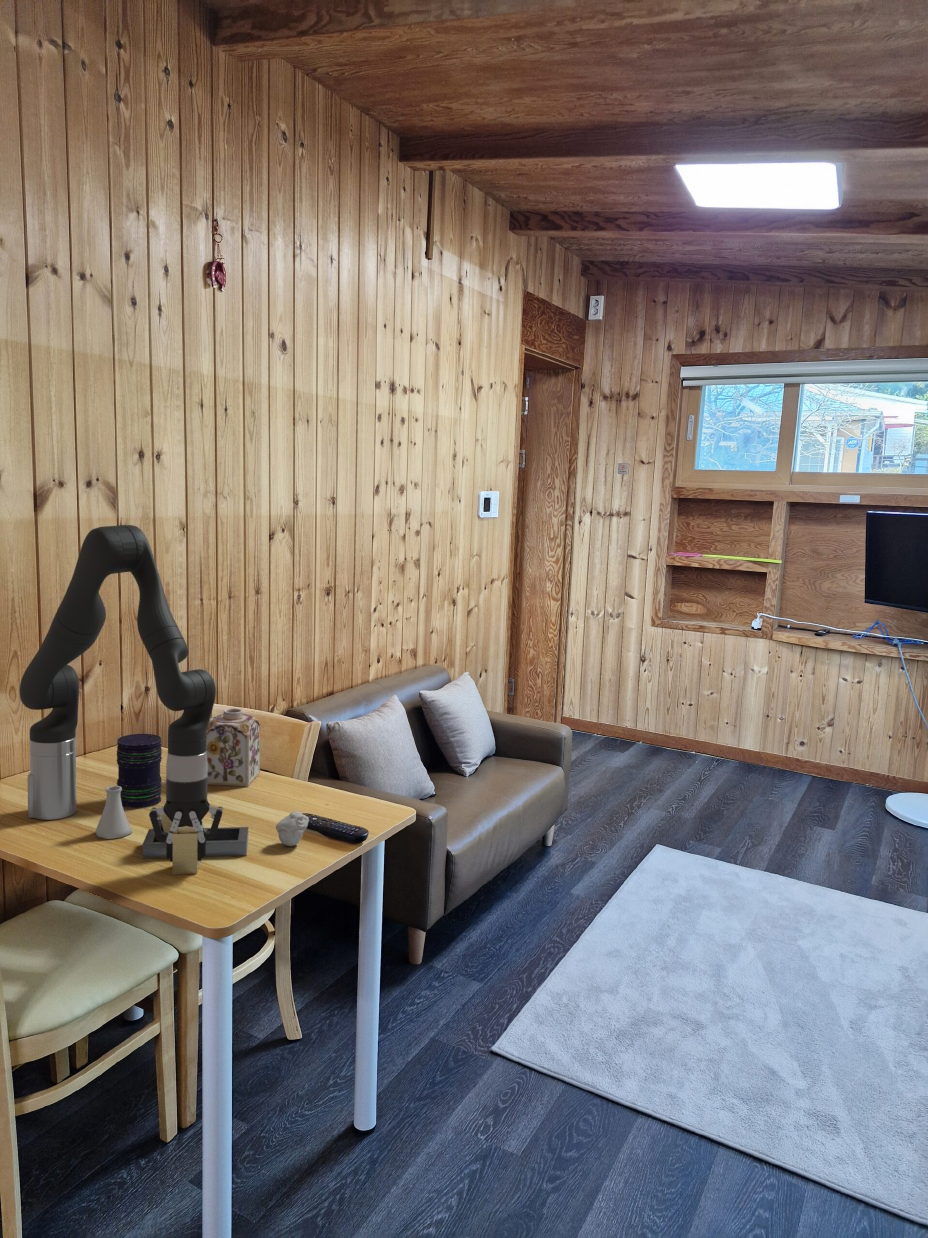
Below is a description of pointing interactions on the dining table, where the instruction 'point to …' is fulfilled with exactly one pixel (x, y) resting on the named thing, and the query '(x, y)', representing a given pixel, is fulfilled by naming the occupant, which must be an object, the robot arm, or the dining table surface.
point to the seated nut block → (166, 823)
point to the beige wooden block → (185, 851)
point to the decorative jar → (233, 748)
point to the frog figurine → (292, 828)
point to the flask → (113, 816)
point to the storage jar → (139, 770)
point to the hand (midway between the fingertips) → (186, 859)
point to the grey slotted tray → (223, 844)
